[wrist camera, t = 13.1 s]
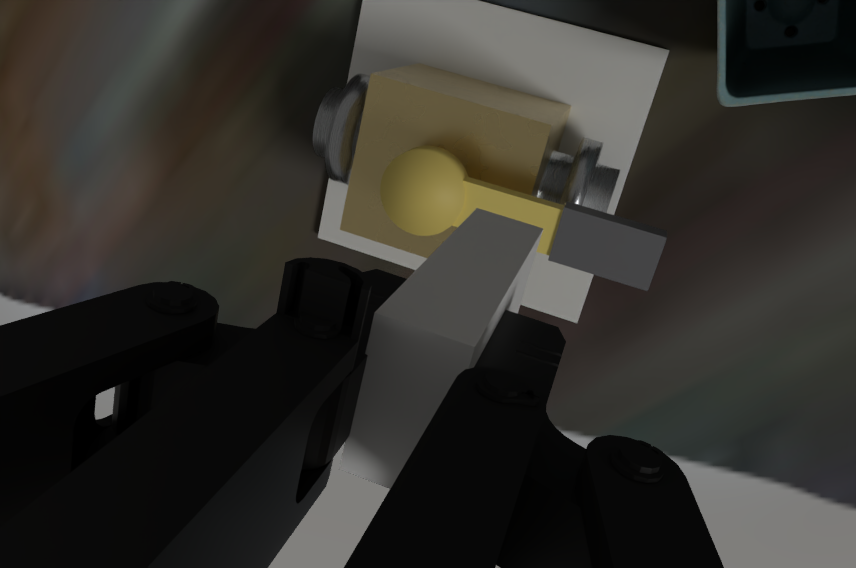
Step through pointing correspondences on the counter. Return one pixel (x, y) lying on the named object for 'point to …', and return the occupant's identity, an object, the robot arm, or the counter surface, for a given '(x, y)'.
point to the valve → (449, 144)
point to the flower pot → (785, 50)
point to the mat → (523, 71)
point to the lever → (518, 217)
